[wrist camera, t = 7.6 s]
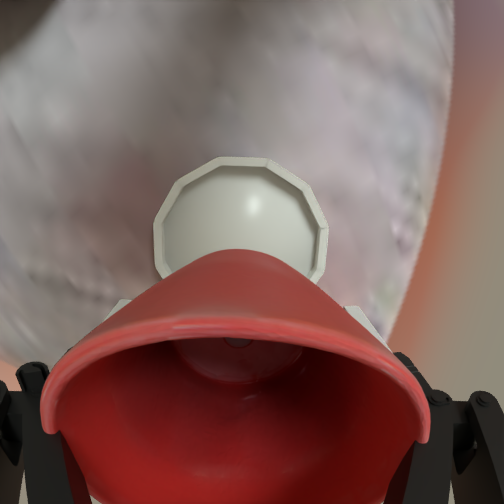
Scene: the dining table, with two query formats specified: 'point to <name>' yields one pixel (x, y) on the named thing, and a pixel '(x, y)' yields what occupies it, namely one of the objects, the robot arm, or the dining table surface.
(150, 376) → the flower pot
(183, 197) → the saucer
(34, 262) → the dining table surface
